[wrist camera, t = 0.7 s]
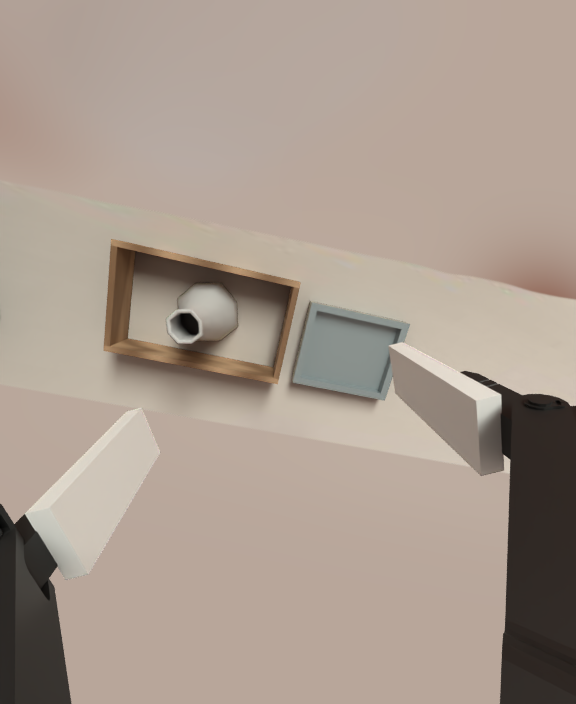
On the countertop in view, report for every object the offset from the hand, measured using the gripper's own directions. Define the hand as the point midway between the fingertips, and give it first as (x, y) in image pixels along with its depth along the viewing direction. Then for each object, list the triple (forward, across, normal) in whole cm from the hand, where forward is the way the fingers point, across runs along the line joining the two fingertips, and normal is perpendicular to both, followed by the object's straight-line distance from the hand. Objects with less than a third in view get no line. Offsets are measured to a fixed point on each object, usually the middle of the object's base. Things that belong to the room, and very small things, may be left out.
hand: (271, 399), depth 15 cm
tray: (+21, +9, -6) cm, 24 cm away
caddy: (+22, -7, +3) cm, 23 cm away
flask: (+22, -7, +3) cm, 23 cm away
